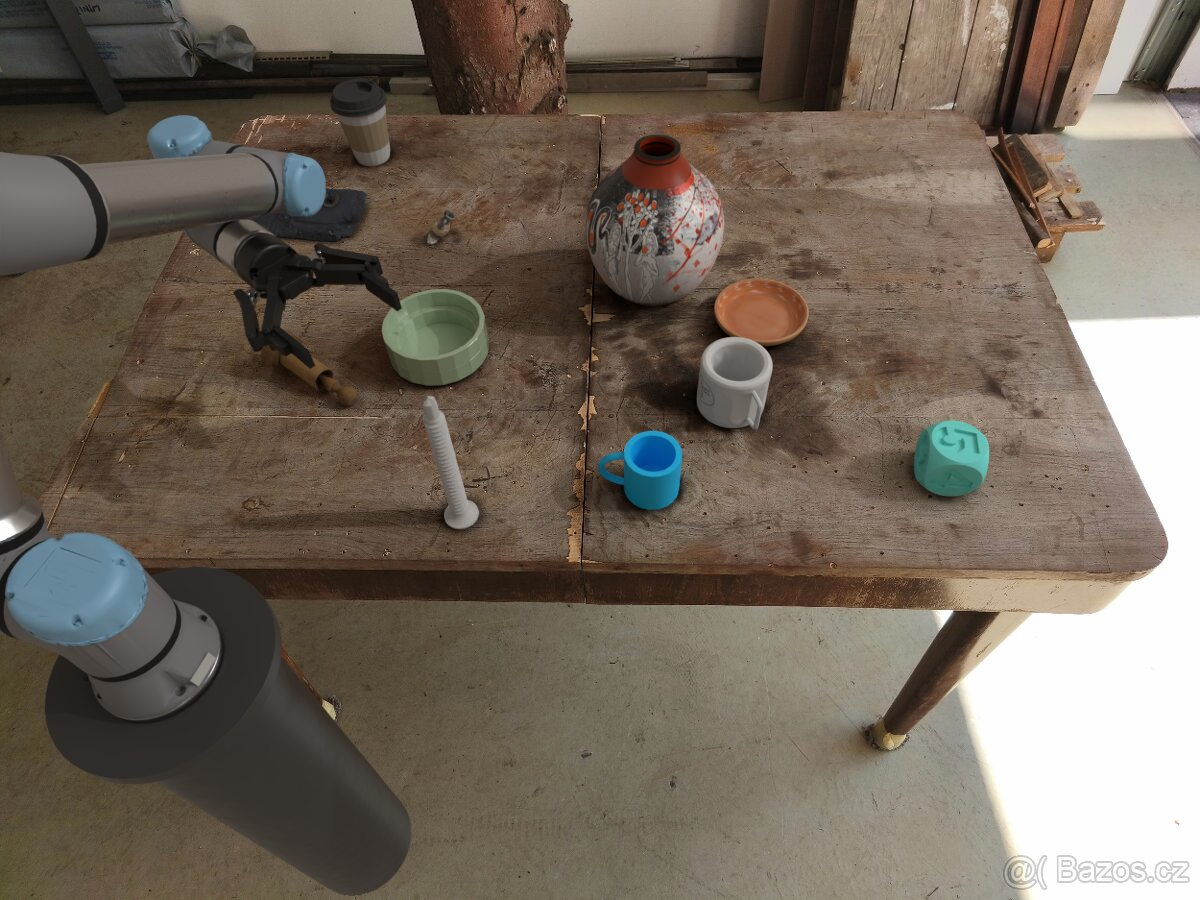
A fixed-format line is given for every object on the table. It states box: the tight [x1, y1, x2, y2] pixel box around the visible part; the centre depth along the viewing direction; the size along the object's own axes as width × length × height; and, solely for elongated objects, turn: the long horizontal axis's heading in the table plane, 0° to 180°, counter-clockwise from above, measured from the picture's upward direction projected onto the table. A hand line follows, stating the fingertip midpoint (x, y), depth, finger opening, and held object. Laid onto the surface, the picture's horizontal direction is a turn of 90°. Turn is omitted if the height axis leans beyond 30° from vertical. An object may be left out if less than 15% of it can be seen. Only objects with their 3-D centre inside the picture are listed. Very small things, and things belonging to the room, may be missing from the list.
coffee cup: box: [329, 77, 391, 167], centre depth 168 cm, size 11×11×15 cm
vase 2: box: [584, 133, 725, 307], centre depth 135 cm, size 23×23×28 cm
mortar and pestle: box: [260, 329, 360, 407], centre depth 132 cm, size 7×6×18 cm
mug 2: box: [696, 336, 774, 430], centre depth 124 cm, size 14×11×10 cm
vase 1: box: [426, 209, 456, 245], centre depth 154 cm, size 5×5×6 cm
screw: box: [422, 395, 480, 530], centre depth 107 cm, size 5×26×5 cm
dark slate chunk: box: [251, 187, 368, 242], centre depth 160 cm, size 15×22×5 cm
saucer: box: [713, 277, 810, 347], centre depth 139 cm, size 16×16×3 cm
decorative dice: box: [913, 419, 990, 497], centre depth 116 cm, size 8×8×8 cm
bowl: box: [381, 288, 490, 386], centre depth 135 cm, size 17×17×7 cm
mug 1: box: [597, 430, 683, 511], centre depth 116 cm, size 12×8×8 cm
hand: (355, 330), depth 101 cm, fingers open, 13 cm apart
